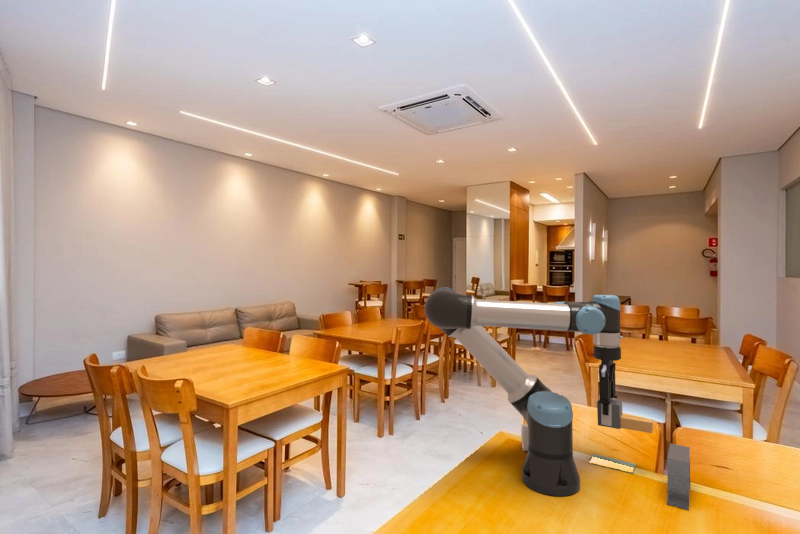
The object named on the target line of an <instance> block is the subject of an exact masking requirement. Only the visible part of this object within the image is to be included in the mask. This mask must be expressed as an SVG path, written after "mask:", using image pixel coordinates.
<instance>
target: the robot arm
mask: <svg viewBox="0 0 800 534" xmlns="http://www.w3.org/2000/svg"><path fill="white" fill-rule="evenodd" d="M621 312H622V310H621V301H620V298H619V296H617V295H614V294H595V295H593V296H592V300H591V301H555V302H553V303H550V302H549V303H548V302H533V301H532V302H531V301H515V300H514V301H513V300H499V299H498V300H497V299H480V298H476V296H474V295H472V294H469V295H468V294H461V293H459V292H457V291H456V290H454V289H453V288H451V287H439V288H437V289H434V290H433V291H432V292H431V293H430V294H429V295H428V297H427V299H426V301H425V303H424V314H425V316H426V319H427V320H428V322H429V323H430V324H431V325H433V326H434V327H436V328H439V329H440V330H441V331H442V332H443V333H444V334H445V335H446V337H448V338H455V339H456V340H457V341H458V342H459V343H460V344H461V345H462V346H463V347H464V348H465V350H466V351H467V352H468V353H470V355H471V356H472V357H473V358H474V359H475V360H476V362H478V364H479V365H480V366H482V368H484V369H485V371H486V372H487V373H488V374H489V375H490V376H491V377H492V379H494V380H495V381H496V382H497V384H498V385H499V386H501V388H502V389H503V390H504V391H505V392H506V393H507V401H508V402H509V403H510V404H511V405H512V406H513V408H514V409H515V410H516V411H517V412H518V413H519V414H520V415H521V417H522V418H523V419H524V421H525V423H526V425H528V451H527V453H526V456H525V460H524V463H523V466H522V469H521V477H522V478H521V479H522V482H523V483H524V484H525V485H526V486H527V488H530V489H531V490H533V491H535V492H537V493H539V494H540V493H541V494H543V495H547V496H554V497H566V496H567V497H568V496H571V495H574V494H576V493H578V492H579V491H580V489H581V478H580V475H579V471H578V469H577V465H576V463H575V460H574V454H573V453H574V450H573V449H574V448H573V445H574V444H573V443H574V442H573V439H574V438H573V417H574V412H573V406H572V405H573V404H572V403H571V401H570V400H569V399H568V398H567V397H566V396H564V395H563V394H559V393H557V392H553V390H552V389H550V388H549V387H548V386H546V385H545V384H544V383H543V381H541V380H540V378H539V377H538V376H536V375H535V374H529V373H527V372H526V370H524V369H523V368H522V367H521V366H520V365H519V364H518V363H517V362H516V360H515V359H514V358H513V357H512V356H511V355H510V354H509V353H508V352H507V351H506V350H505V349H504V348H503V347H502V346H501V345H500V343H498V341H496V340H495V338H494V337H493V336H492V335H491V334H490V333H489V332H488V331H487V330H486V329H485V328H484V327H489V328H490V327H495V328H507V329H508V328H510V329H524V330H525V329H529V330H542V331H543V330H545V331H558V332H560V331H561V332H573V333H582V334H584V335H592V344H594V345H593V357H594V359H597V360H600V361H601V362H600V364H599V365H598V371H597V372H598V378H599V379H598V380H599V381H598V382H599V389H598V390H599V395H598V396H599V399H600V400H599V399H598V400H599V401H598V400H597V402H598V403H601V425H606V426H612V412H611V402H610V399H612V400H616V399H618V395H617V394H616V393H617V391H616V368H617V367H616V365H617V363H616V361H620V360H621V359H622V348H621V340H622V339H624V336H622V335H621Z"/></svg>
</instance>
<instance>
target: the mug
mask: <svg viewBox="0 0 800 534" xmlns="http://www.w3.org/2000/svg"><path fill="white" fill-rule="evenodd" d="M520 432H521V447H522V448H523V449H522V451H523V452H528V425H527V424H521V431H520Z"/></svg>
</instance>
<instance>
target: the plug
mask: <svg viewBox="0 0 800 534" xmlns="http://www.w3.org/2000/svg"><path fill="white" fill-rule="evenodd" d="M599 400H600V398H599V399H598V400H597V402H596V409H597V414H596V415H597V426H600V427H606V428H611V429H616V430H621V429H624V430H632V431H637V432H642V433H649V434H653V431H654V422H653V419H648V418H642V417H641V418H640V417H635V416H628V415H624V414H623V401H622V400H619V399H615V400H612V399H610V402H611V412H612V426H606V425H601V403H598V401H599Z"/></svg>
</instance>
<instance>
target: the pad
mask: <svg viewBox="0 0 800 534" xmlns="http://www.w3.org/2000/svg"><path fill="white" fill-rule="evenodd" d="M591 456H593V457H597V458H600V459H604V460H608V461H612V462H614V463H618V464H622V465H626V466H629V467H633V468H635V469H636V466H637V463H634V462H629V461H626V460H620V459H618V458H613V457H608V456H604V455H600V454H597V453H592V454H591ZM618 470H620V469H618ZM618 470H617V471H618ZM627 472H628V471H627ZM630 473H633V474H634V472H630ZM630 473H629V474H630Z"/></svg>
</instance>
